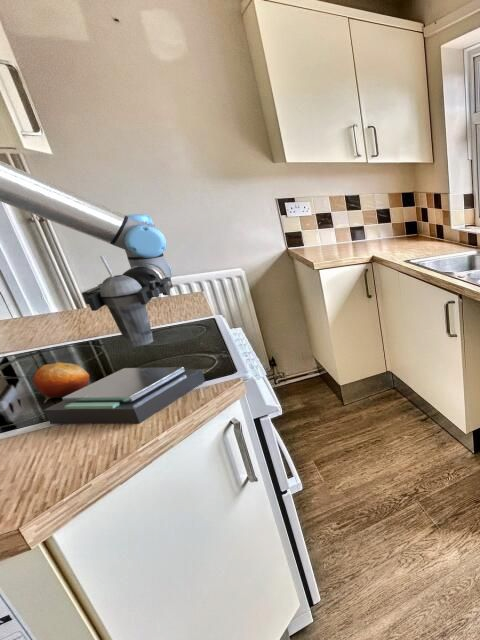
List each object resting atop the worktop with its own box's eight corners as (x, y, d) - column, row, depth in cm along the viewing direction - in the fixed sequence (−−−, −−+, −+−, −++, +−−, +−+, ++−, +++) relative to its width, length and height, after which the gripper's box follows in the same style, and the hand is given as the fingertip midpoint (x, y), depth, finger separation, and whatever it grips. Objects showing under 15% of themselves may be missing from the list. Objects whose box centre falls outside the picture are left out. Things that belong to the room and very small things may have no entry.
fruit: (29, 390, 87) (43, 354, 87) (81, 396, 93) (95, 363, 93) (21, 404, 82) (36, 366, 82) (78, 410, 87) (92, 374, 87)
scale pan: (63, 402, 78) (61, 397, 77) (125, 372, 90) (124, 368, 89) (132, 401, 77) (130, 396, 77) (185, 371, 89) (183, 367, 89)
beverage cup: (168, 339, 97) (138, 252, 90) (130, 351, 91) (95, 258, 84) (150, 336, 100) (119, 251, 93) (112, 346, 94) (77, 256, 87)
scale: (50, 424, 77) (41, 407, 76) (130, 382, 93) (124, 367, 92) (139, 423, 77) (132, 406, 75) (205, 381, 92) (200, 366, 91)
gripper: (195, 290, 112) (181, 310, 93) (96, 301, 103) (59, 327, 84) (187, 261, 110) (171, 277, 91) (84, 271, 101) (43, 290, 82)
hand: (117, 301), depth 88 cm, fingers closed on beverage cup, 7 cm apart
